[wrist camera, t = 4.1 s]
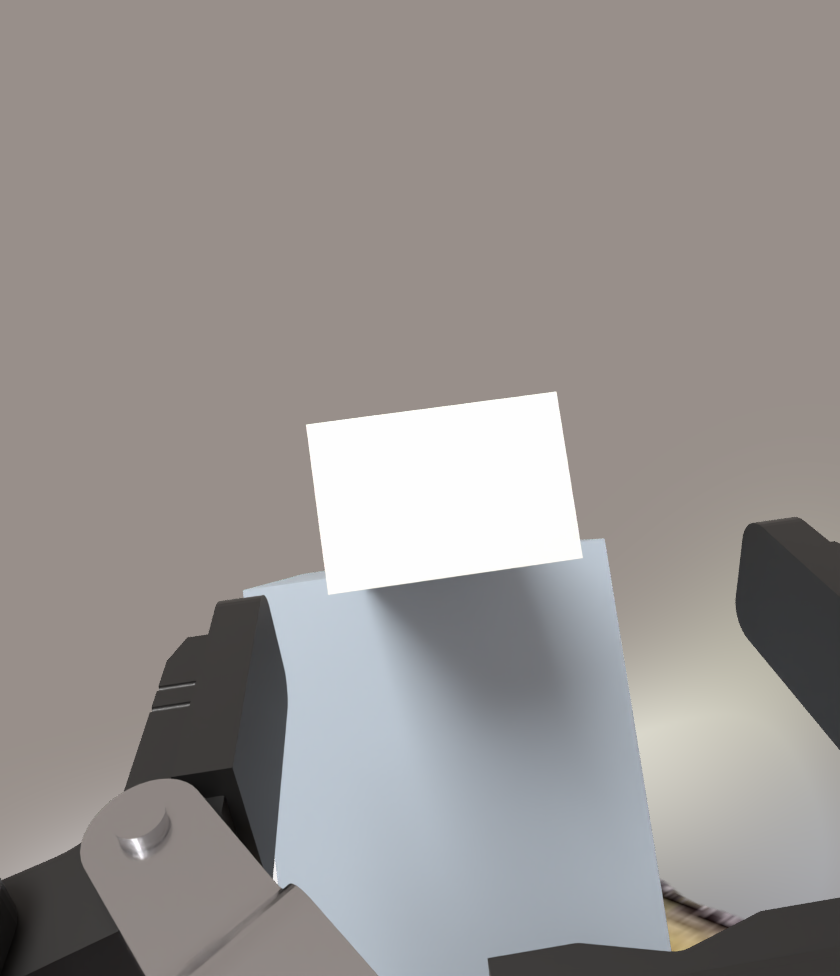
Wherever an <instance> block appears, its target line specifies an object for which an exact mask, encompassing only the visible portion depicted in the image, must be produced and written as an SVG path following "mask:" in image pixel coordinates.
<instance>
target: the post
mask: <svg viewBox="0 0 840 976" xmlns="http://www.w3.org/2000/svg"><path fill="white" fill-rule="evenodd" d="M580 543H581V550H582V556H583V558H580V559H573V560H566V561H559V562H552V563H545V564H538V565H531V566H524V567H517V568H510V569H503V570H496V571H490V572H483V573H476V574H469V575H462V576H455V577H448V578H441V579H434V580H427V581H420V582H413V583H407V584H400V585H393V586H386V587H379V588H372V589H365V590H358V591H351V592H344V593H337V594H330V595H328V590H327V582H326V574H325V571H321V572H314V573H307V574H302V575H298V576H294V577H291V578H287V579H283V580H280V581H276V582H272V583H269V584H265V585H262V586H257V587H254V588H250V589H246V590H243V595H244V598H246V597H253V596H260V595H265V596H266V598H267V600H268V603H269V607H270V611H271V615H272V619H273V623H274V627H275V632H276V636H277V640H278V644H279V648H280V652H281V657H282V661H283V665H284V669H285V675H286V682H287V692H288V711H287V722H286V734H285V745H284V756H283V768H282V779H281V790H280V802H279V813H278V824H277V835H276V847H275V862H276V870H277V878H278V885H279V886H280V887H281V888H282V889H283V888H285V887H286V886H287V885H288V884H290V883H291V884H294V885H296V886H298V887H299V888H301V889H302V890H303V891H304V892H305V893H306V894H307V895H308V896H309V897H310V898H311V899H312V901H313V902H314V903H315V904H316V905H317V906H318V907H319V909H320V910H321V911H322V912H323V913H324V914H325V915H326V917H327V918H328V919H329V920H330V921H331V922H332V923H333V925H334V926H335V927H336V928H337V929H338V930H339V931H340V932H341V934H342V935H343V936H344V937H345V938H346V939H347V940H348V942H349V943H350V944H351V945H352V946H353V947H354V948H355V950H356V951H357V952H358V953H359V954H360V955H361V956H362V958H363V959H364V960H365V961H366V962H367V963H368V964H369V966H370V967H371V968H372V969H373V970H374V971H375V972H376V974H377V975H378V976H489V969H488V959H487V958H491V957H497V956H503V955H509V954H514V953H520V952H526V951H532V950H538V949H544V948H549V947H555V946H561V945H567V944H573V943H586V944H597V945H607V946H618V947H628V948H638V949H649V950H659V951H671V946H670V940H669V933H668V927H667V921H666V915H665V909H664V903H663V896H662V890H661V884H660V878H659V872H658V866H657V859H656V853H655V847H654V841H653V835H652V829H651V823H650V816H649V810H648V804H647V798H646V792H645V786H644V780H643V773H642V767H641V761H640V755H639V749H638V743H637V736H636V730H635V724H634V718H633V711H632V705H631V699H630V693H629V687H628V681H627V674H626V668H625V662H624V657H623V650H622V644H621V637H620V631H619V625H618V619H617V613H616V607H615V601H614V594H613V588H612V582H611V576H610V570H609V564H608V557H607V551H606V545H605V540H604V539H588V540H580Z"/></svg>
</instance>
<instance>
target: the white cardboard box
mask: <svg viewBox="0 0 840 976" xmlns="http://www.w3.org/2000/svg"><path fill="white" fill-rule="evenodd" d="M306 427H307V435H308V443H309V450H310V458H311V466H312V474H313V481H314V489H315V497H316V505H317V512H318V520H319V527H320V536H321V543H322V551H323V559H324V565H325V574H326V582H327V590H328V595H330V594H337V593H344V592H351V591H358V590H365V589H372V588H379V587H386V586H393V585H400V584H407V583H413V582H420V581H427V580H434V579H441V578H448V577H455V576H462V575H469V574H476V573H483V572H490V571H496V570H503V569H510V568H517V567H524V566H531V565H538V564H545V563H552V562H559V561H566V560H573V559H580V558H583V556H582V550H581V543H580V537H579V531H578V525H577V518H576V512H575V506H574V500H573V493H572V487H571V481H570V474H569V468H568V462H567V456H566V449H565V443H564V437H563V431H562V425H561V418H560V412H559V405H558V399H557V393H556V392H551V393H543V394H536V395H528V396H520V397H512V398H505V399H497V400H490V401H482V402H475V403H467V404H459V405H452V406H444V407H437V408H429V409H421V410H414V411H406V412H399V413H391V414H384V415H376V416H368V417H361V418H353V419H346V420H338V421H331V422H323V423H315V424H308V425H306Z"/></svg>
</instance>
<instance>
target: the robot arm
mask: <svg viewBox="0 0 840 976" xmlns="http://www.w3.org/2000/svg"><path fill="white" fill-rule="evenodd" d="M736 612H737V617H738V621H739V623H740V626H741V628H742V631H743V632H744V634H745V636H746V637H747V638H748V640H749V641H750V642H751V643H752V644H753V646H754V647H755V648H756V649H757V651H758V652H759V653H760V654H761V655H762V657H763V658H764V659H765V660H766V661H767V662H768V664H769V665H770V666H771V667H772V669H773V670H774V671H775V672H776V673H777V674H778V676H779V677H780V678H781V679H782V681H783V682H784V683H785V684H786V685H787V687H788V688H789V689H790V690H791V692H792V693H793V694H794V695H795V696H796V698H797V699H798V700H799V701H800V702H801V704H802V705H803V706H804V707H805V709H806V710H807V711H808V712H809V713H810V715H811V716H812V717H813V718H814V719H815V721H816V722H817V723H818V724H819V725H820V727H821V728H822V729H823V730H824V732H825V733H826V734H827V735H828V736H829V738H830V739H831V740H832V741H833V742H834V744H835V745H836V746H837V747H838V748H839V750H840V544H839V543H837V542H835V541H834V542H829V541H828V540H827V539H826V538H824V537H823V536H822V535H821V534H819V533H818V532H817V531H816V530H815V529H813V528H812V527H811V526H810V525H808V524H807V523H806V522H805V521H803V520H802V519H800V518H798V517H791V518H784V519H777V520H771V521H764V522H756V523H751V524H749V525H748V526H747V527H746V529H745V531H744V534H743V540H742V549H741V557H740V566H739V575H738V583H737V592H736ZM287 711H288V692H287V682H286V675H285V669H284V665H283V661H282V657H281V652H280V648H279V644H278V640H277V636H276V632H275V627H274V623H273V619H272V615H271V611H270V607H269V603H268V600H267V598H266V596H265V595H260V596H253V597H246V598H239V599H232V600H225V601H219V602H218V603H217V604H216V607H215V611H214V615H213V618H212V622H211V627H210V630H209V634H208V635H202V636H195V637H188V638H187V639H186V640H185V641H184V642H183V643H182V645H180V647H179V648H178V649H177V650H176V651H175V652H174V654H173V655H172V656H171V657H170V658H169V659H168V660H167V662H166V665H165V668H164V671H163V674H162V677H161V681H160V684H159V691H157V693H156V696H155V699H154V702H153V705H152V712H151V713H150V714H149V717H148V720H147V723H146V726H145V729H144V732H143V735H142V738H141V741H140V744H139V747H138V750H137V754H136V756H135V760H134V762H133V766H132V768H131V772H130V775H129V778H128V781H127V784H126V787H125V790H124V792H123V793H121V794H119V795H118V796H117V797H115V798H114V799H112V800H111V801H110V802H109V803H108V804H106V805H105V806H104V807H103V808H102V809H101V810H100V811H99V812H98V814H97V815H96V816H95V817H94V819H93V820H92V821H91V823H90V824H89V826H88V828H87V830H86V832H85V834H84V836H83V839H82V842H81V843H80V844H79V845H77V846H75V847H74V848H72V849H71V850H69V851H67V852H65V853H63V854H61V855H59V856H57V857H55V858H53V859H50V860H48V861H46V862H43V863H41V864H39V865H36V866H34V867H32V868H29V869H27V870H25V871H22V872H20V873H18V874H15V875H13V876H11V877H8V878H6V879H4V880H1V878H0V976H378V975H377V974H376V972H375V971H374V970H373V969H372V968H371V967H370V966H369V964H368V963H367V962H366V961H365V960H364V959H363V958H362V956H361V955H360V954H359V953H358V952H357V951H356V950H355V948H354V947H353V946H352V945H351V944H350V943H349V942H348V940H347V939H346V938H345V937H344V936H343V935H342V934H341V932H340V931H339V930H338V929H337V928H336V927H335V926H334V925H333V923H332V922H331V921H330V920H329V919H328V918H327V917H326V915H325V914H324V913H323V912H322V911H321V910H320V909H319V907H318V906H317V905H316V904H315V903H314V902H313V901H312V899H311V898H310V897H309V896H308V895H307V894H306V893H305V892H304V891H303V890H302V889H301V888H299V887H298V886H296V885H294V884H291V883H290V884H288V885H287V886H286V887H285V888H283V889H282V888H281V887H280V886H279V885H278V884H276V882H275V881H274V880H273V868H274V858H275V847H276V835H277V824H278V813H279V802H280V790H281V779H282V768H283V756H284V745H285V734H286V722H287ZM487 959H488V969H489V976H840V898H835V899H829V900H823V901H817V902H812V903H806V904H801V905H794V906H788V907H782V908H777V909H771V910H765V911H760V912H758V913H756V914H754V915H752V916H750V917H749V918H747V919H745V920H743V921H741V922H739V923H737V924H735V925H733V926H731V927H729V928H727V929H725V930H723V931H721V932H719V933H717V934H716V935H714V936H712V937H710V938H708V939H706V940H704V941H702V942H700V943H698V944H696V945H694V946H692V947H690V948H688V949H686V950H683V951H677V952H671V951H659V950H649V949H638V948H628V947H618V946H607V945H597V944H586V943H573V944H567V945H561V946H555V947H549V948H544V949H538V950H532V951H526V952H520V953H514V954H509V955H503V956H497V957H491V958H487Z"/></svg>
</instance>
